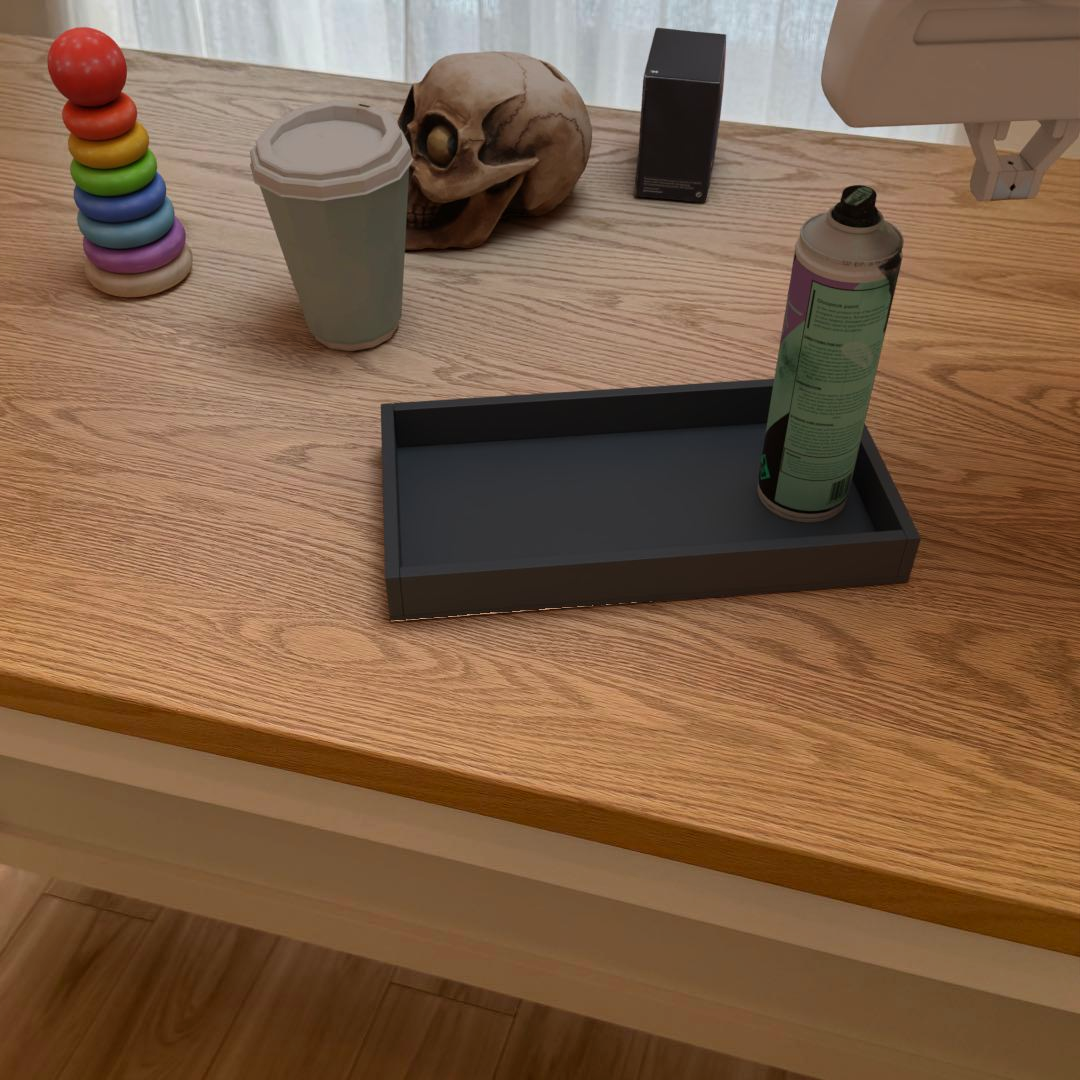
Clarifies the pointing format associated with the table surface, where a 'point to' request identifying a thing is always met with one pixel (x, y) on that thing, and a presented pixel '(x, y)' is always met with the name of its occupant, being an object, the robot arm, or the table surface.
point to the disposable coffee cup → (339, 215)
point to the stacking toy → (115, 172)
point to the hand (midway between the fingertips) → (1001, 195)
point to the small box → (680, 114)
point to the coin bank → (489, 145)
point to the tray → (612, 504)
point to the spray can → (828, 356)
